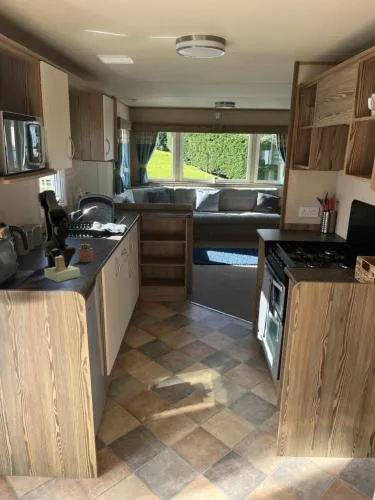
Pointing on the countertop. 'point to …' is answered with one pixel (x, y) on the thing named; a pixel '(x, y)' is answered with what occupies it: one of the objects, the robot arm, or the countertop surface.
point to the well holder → (62, 273)
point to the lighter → (85, 253)
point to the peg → (60, 263)
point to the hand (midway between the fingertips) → (61, 265)
